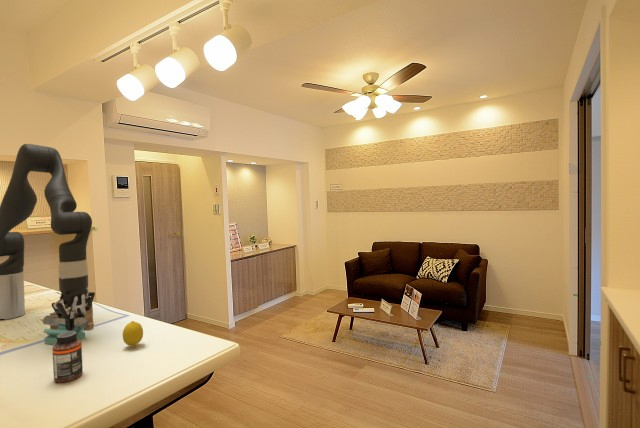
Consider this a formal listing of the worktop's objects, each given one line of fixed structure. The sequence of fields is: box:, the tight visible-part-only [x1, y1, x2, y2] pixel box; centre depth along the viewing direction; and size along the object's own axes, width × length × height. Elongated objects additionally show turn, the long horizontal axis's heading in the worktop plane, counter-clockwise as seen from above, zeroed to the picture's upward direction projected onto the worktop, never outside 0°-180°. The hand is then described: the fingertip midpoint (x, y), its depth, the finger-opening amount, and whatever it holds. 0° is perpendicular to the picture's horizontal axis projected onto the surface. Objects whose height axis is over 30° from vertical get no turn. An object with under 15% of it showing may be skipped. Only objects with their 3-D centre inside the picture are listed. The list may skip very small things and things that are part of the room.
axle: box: [42, 314, 88, 328], centre depth 109 cm, size 14×3×3 cm, turn 79°
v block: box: [42, 326, 86, 346], centre depth 109 cm, size 9×7×5 cm
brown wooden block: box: [49, 304, 95, 331], centre depth 120 cm, size 10×12×7 cm
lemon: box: [122, 320, 144, 348], centre depth 104 cm, size 6×6×8 cm
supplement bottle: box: [52, 331, 84, 383], centre depth 86 cm, size 6×6×11 cm
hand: (75, 327), depth 108 cm, fingers closed on axle, 3 cm apart
